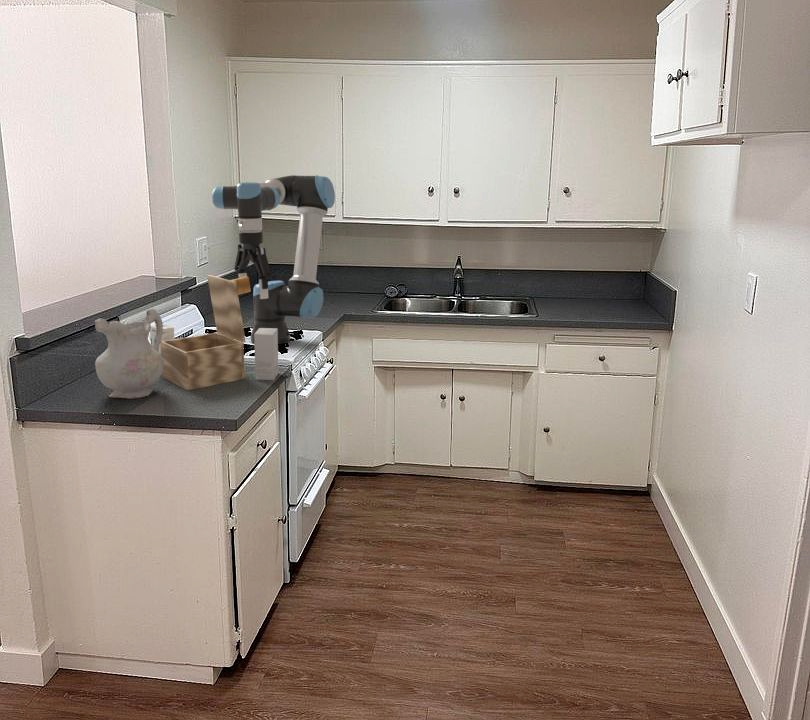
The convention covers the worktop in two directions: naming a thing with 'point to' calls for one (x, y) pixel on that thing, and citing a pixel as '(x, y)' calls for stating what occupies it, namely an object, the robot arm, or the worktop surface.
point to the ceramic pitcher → (130, 357)
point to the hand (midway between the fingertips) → (253, 295)
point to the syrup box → (166, 334)
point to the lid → (228, 305)
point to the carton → (202, 360)
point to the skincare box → (266, 353)
